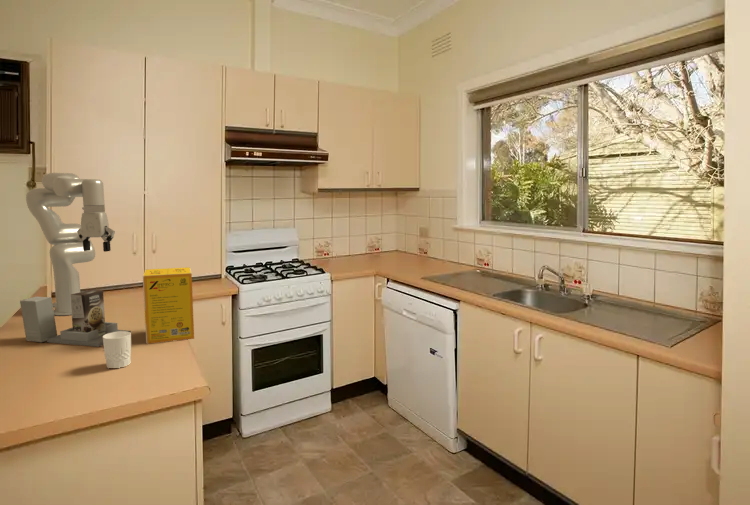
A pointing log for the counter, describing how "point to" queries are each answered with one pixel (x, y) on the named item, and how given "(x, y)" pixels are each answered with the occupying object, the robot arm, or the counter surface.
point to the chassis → (84, 336)
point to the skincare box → (38, 318)
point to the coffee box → (88, 311)
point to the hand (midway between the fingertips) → (97, 250)
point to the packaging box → (168, 304)
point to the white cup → (117, 349)
